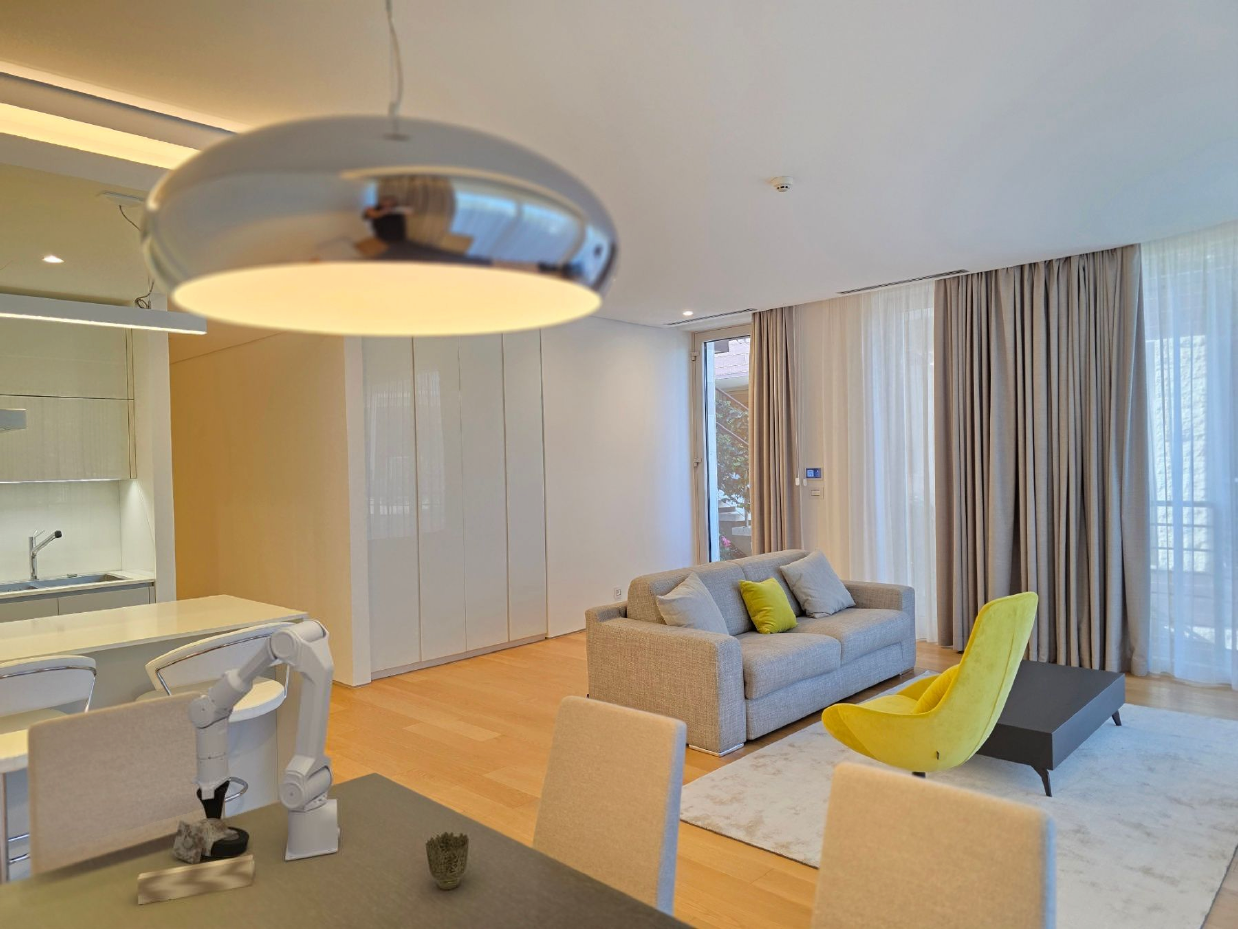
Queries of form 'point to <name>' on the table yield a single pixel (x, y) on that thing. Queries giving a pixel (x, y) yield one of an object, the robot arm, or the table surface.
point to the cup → (447, 858)
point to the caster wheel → (208, 840)
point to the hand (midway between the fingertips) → (214, 821)
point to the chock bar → (195, 879)
